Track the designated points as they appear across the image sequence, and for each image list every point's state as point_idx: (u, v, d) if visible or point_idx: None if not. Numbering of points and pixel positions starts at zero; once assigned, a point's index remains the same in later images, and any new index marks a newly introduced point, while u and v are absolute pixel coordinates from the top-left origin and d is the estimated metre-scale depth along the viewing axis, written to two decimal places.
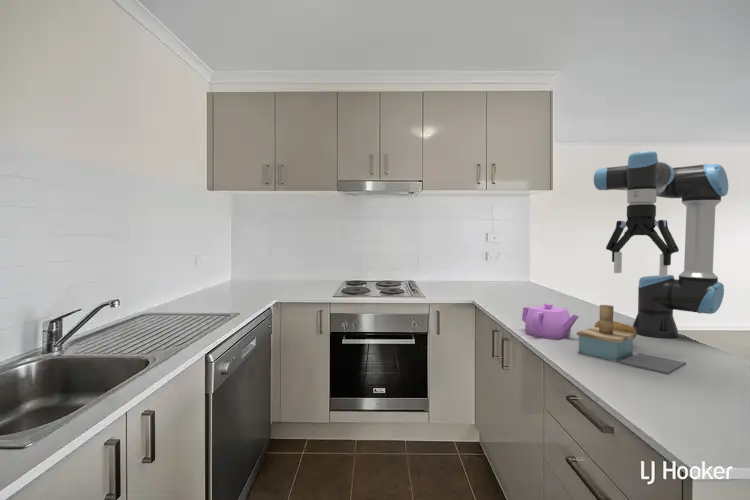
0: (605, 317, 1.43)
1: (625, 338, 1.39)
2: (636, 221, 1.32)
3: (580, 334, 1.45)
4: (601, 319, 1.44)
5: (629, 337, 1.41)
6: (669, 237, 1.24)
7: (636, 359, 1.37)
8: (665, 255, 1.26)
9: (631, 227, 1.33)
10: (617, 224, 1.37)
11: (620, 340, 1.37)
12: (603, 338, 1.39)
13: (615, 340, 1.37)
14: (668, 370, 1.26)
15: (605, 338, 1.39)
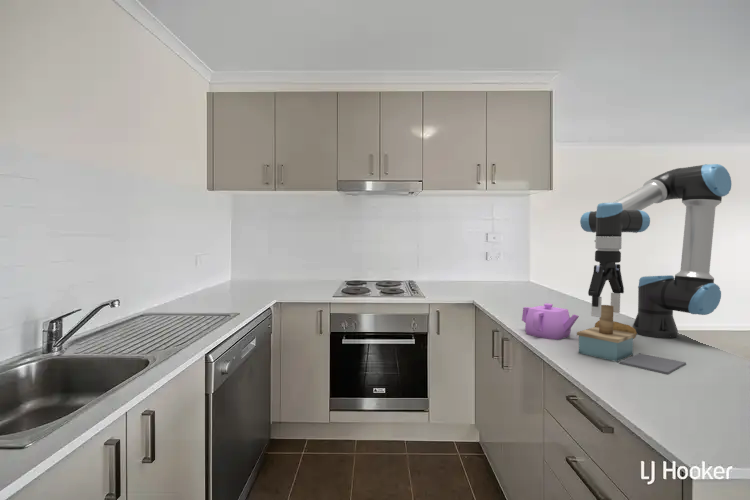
0: (605, 317, 1.43)
1: (625, 338, 1.39)
2: None
3: (580, 334, 1.45)
4: (601, 319, 1.44)
5: (629, 337, 1.41)
6: (592, 281, 1.40)
7: (636, 359, 1.37)
8: None
9: None
10: None
11: (620, 340, 1.37)
12: (603, 338, 1.39)
13: (615, 340, 1.37)
14: (668, 370, 1.26)
15: (605, 338, 1.39)
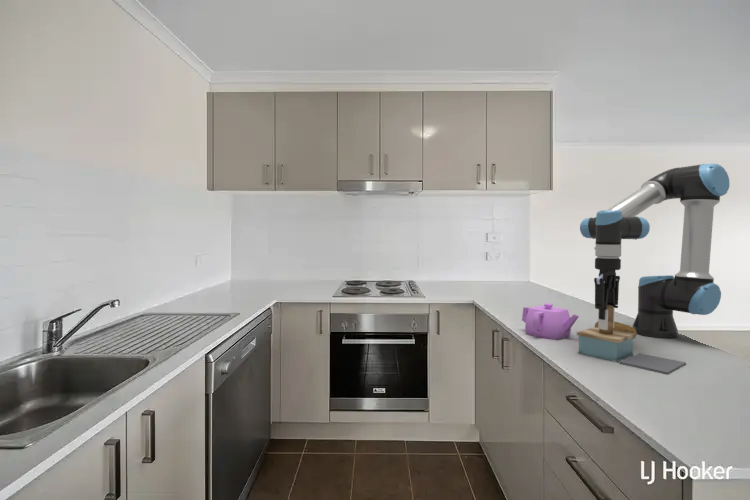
0: None
1: (625, 338, 1.39)
2: None
3: (580, 334, 1.45)
4: None
5: (629, 337, 1.41)
6: (596, 295, 1.42)
7: (636, 359, 1.37)
8: None
9: None
10: None
11: (620, 340, 1.37)
12: (603, 338, 1.39)
13: (615, 340, 1.37)
14: (668, 370, 1.26)
15: (605, 338, 1.39)
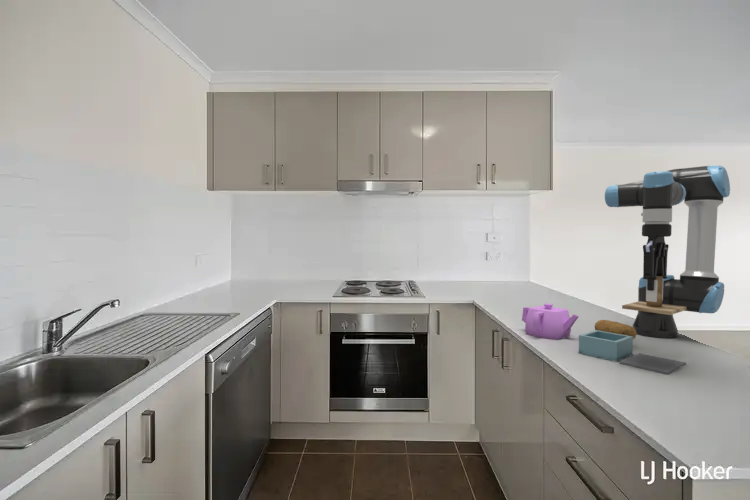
0: None
1: (677, 310, 1.28)
2: None
3: (626, 307, 1.34)
4: None
5: (681, 310, 1.30)
6: (644, 264, 1.30)
7: (636, 359, 1.37)
8: None
9: None
10: None
11: (673, 312, 1.26)
12: (653, 310, 1.28)
13: (667, 312, 1.25)
14: (668, 370, 1.26)
15: (655, 310, 1.27)
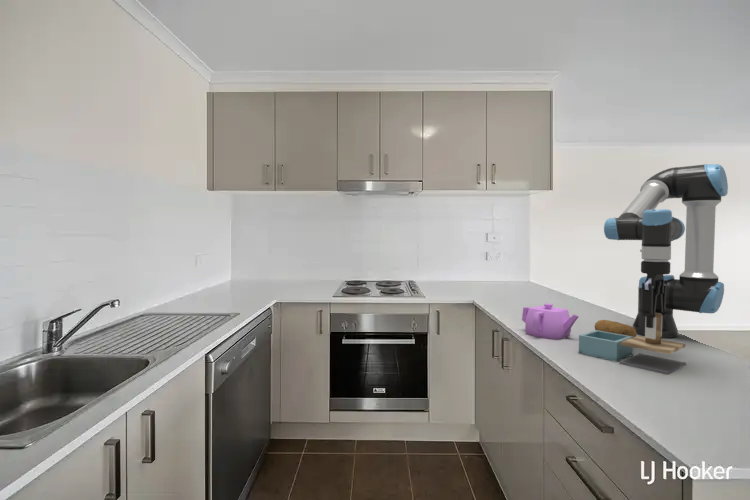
0: None
1: (676, 349, 1.28)
2: None
3: (625, 344, 1.34)
4: None
5: (679, 348, 1.30)
6: (643, 301, 1.30)
7: (636, 359, 1.37)
8: None
9: None
10: None
11: (671, 351, 1.26)
12: (652, 349, 1.28)
13: (666, 351, 1.26)
14: (668, 370, 1.26)
15: (654, 349, 1.28)
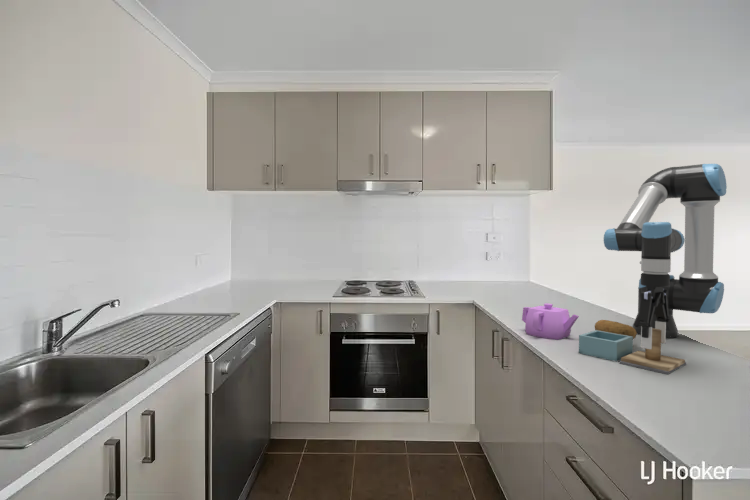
0: (652, 342, 1.33)
1: (676, 365, 1.29)
2: None
3: (625, 360, 1.34)
4: None
5: (679, 364, 1.30)
6: (641, 310, 1.29)
7: None
8: None
9: None
10: None
11: (671, 368, 1.26)
12: (652, 365, 1.29)
13: (666, 368, 1.26)
14: None
15: (654, 366, 1.28)
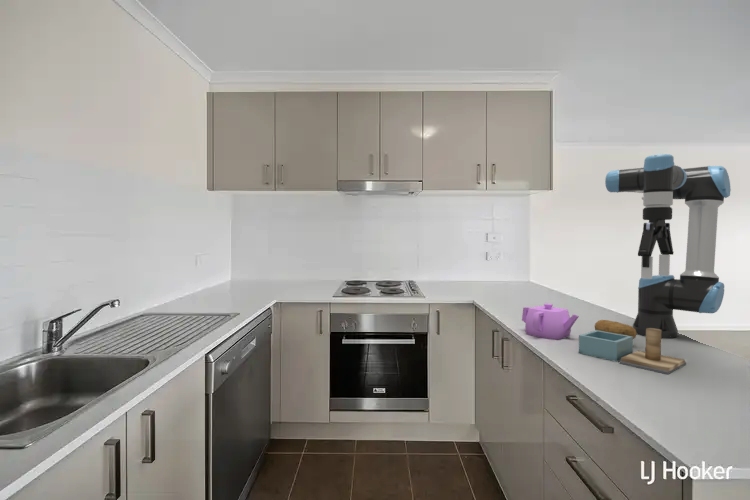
0: (652, 342, 1.33)
1: (676, 365, 1.29)
2: None
3: (625, 360, 1.34)
4: (648, 344, 1.34)
5: (679, 364, 1.30)
6: (642, 240, 1.28)
7: None
8: None
9: None
10: None
11: (671, 368, 1.26)
12: (652, 365, 1.29)
13: (666, 368, 1.26)
14: None
15: (654, 366, 1.28)
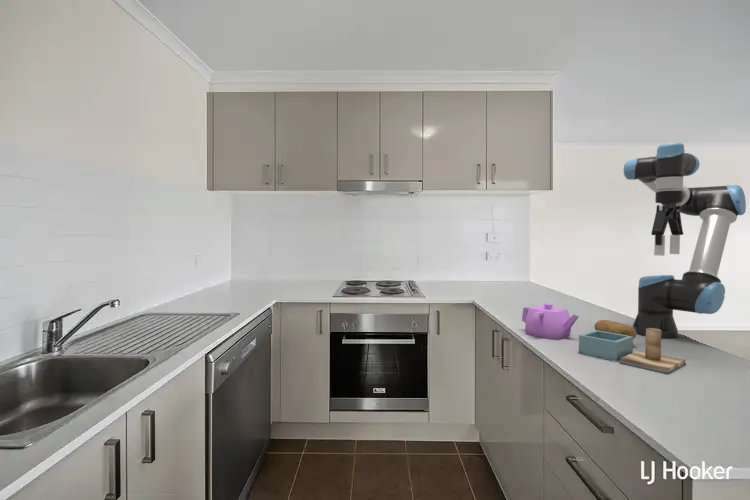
0: (652, 342, 1.33)
1: (676, 365, 1.29)
2: None
3: (625, 360, 1.34)
4: (648, 344, 1.34)
5: (679, 364, 1.30)
6: (655, 220, 1.42)
7: None
8: None
9: None
10: None
11: (671, 368, 1.26)
12: (652, 365, 1.29)
13: (666, 368, 1.26)
14: None
15: (654, 366, 1.28)
